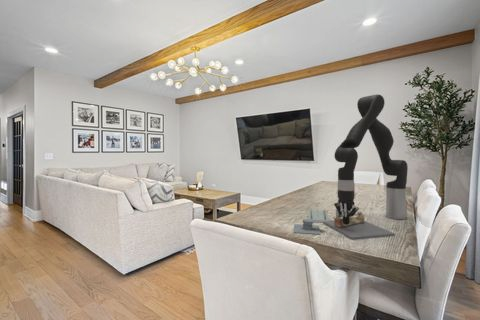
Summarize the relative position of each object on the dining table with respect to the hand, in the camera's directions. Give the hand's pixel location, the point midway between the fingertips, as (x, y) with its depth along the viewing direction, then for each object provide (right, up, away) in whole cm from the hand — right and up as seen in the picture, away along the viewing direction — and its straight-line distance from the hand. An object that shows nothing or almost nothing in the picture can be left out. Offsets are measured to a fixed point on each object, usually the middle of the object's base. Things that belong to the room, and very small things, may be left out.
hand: (346, 224), depth 112 cm
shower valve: (-17, -4, +2) cm, 18 cm away
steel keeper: (+3, -2, +9) cm, 10 cm away
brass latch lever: (+5, -1, +6) cm, 8 cm away
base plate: (+6, -3, +3) cm, 7 cm away
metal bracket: (-7, -3, +19) cm, 21 cm away
